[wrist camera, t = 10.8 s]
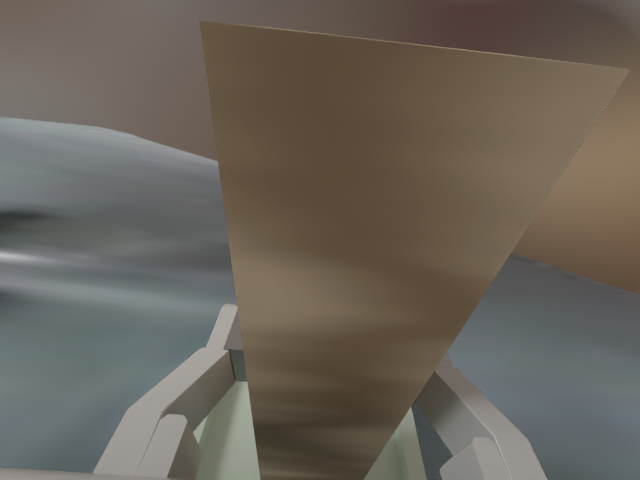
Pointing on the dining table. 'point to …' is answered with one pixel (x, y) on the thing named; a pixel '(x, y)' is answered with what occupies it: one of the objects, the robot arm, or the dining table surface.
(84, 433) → the dining table surface
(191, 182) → the dining table surface
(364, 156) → the tan wooden block
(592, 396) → the dining table surface
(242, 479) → the tray
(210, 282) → the dining table surface
